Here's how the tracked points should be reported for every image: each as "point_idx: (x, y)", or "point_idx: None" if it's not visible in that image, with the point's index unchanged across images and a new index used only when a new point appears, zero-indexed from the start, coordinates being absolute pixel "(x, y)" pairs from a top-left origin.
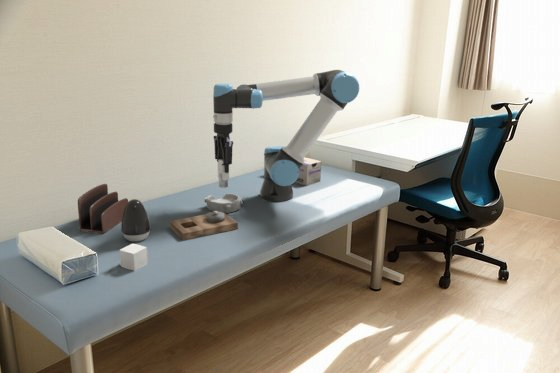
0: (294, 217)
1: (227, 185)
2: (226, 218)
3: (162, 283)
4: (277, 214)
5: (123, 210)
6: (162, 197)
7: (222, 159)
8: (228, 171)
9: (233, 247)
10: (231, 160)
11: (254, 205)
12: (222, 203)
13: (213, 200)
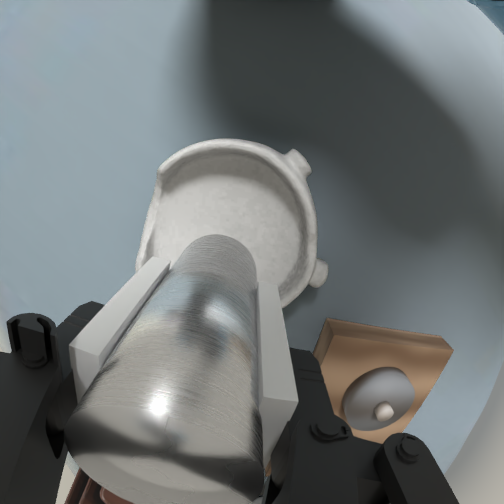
0: (501, 99)
1: (254, 265)
2: (403, 361)
3: None
4: (455, 109)
5: None
6: (4, 324)
7: (139, 474)
8: (317, 366)
9: (475, 395)
10: (441, 491)
11: (307, 81)
12: (290, 302)
13: (156, 250)
